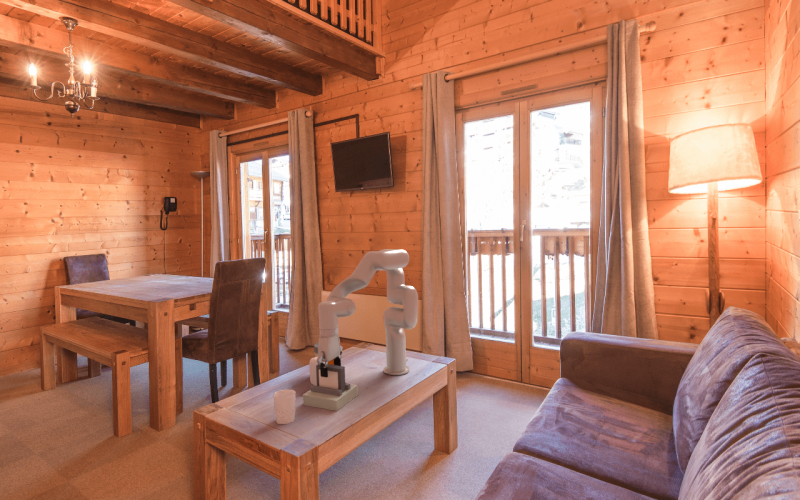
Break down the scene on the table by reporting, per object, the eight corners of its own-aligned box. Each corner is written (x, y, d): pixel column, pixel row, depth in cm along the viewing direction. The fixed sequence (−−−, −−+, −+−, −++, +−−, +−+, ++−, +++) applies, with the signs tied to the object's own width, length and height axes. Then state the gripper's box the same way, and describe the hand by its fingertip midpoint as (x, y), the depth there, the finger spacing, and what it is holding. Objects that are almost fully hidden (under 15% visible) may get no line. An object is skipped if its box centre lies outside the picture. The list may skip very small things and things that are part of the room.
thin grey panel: (321, 386, 168) (320, 363, 168) (345, 390, 163) (344, 366, 163) (316, 389, 165) (315, 365, 164) (341, 393, 160) (340, 369, 160)
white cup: (277, 415, 151) (276, 390, 150) (298, 414, 152) (297, 388, 151) (272, 426, 143) (271, 398, 143) (294, 424, 144) (293, 397, 143)
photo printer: (308, 383, 183) (307, 356, 182) (317, 380, 185) (316, 354, 185) (319, 389, 175) (318, 362, 174) (328, 387, 177) (327, 359, 177)
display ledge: (325, 389, 175) (325, 376, 174) (357, 394, 168) (357, 380, 168) (303, 404, 160) (302, 389, 160) (337, 411, 154) (336, 395, 153)
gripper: (332, 325, 172) (335, 364, 173) (308, 336, 156) (310, 379, 158) (347, 326, 169) (349, 366, 170) (324, 338, 153) (326, 381, 155)
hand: (331, 372), depth 164 cm, fingers open, 9 cm apart
